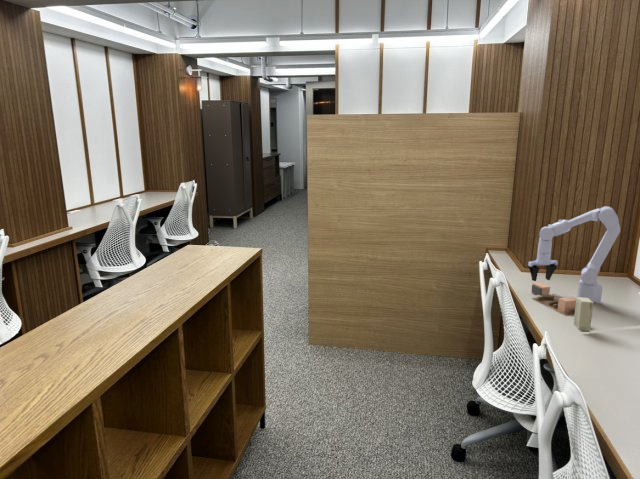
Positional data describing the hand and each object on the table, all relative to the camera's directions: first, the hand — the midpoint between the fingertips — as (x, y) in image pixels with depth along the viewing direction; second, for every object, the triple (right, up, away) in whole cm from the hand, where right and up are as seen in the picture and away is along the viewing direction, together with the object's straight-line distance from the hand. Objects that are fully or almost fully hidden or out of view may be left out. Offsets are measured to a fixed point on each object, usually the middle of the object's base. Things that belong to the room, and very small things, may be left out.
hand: (540, 280), depth 223 cm
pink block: (+2, -11, -21) cm, 24 cm away
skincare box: (-2, -16, -38) cm, 41 cm away
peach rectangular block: (+1, -7, +2) cm, 8 cm away
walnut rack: (+1, -11, -15) cm, 19 cm away
